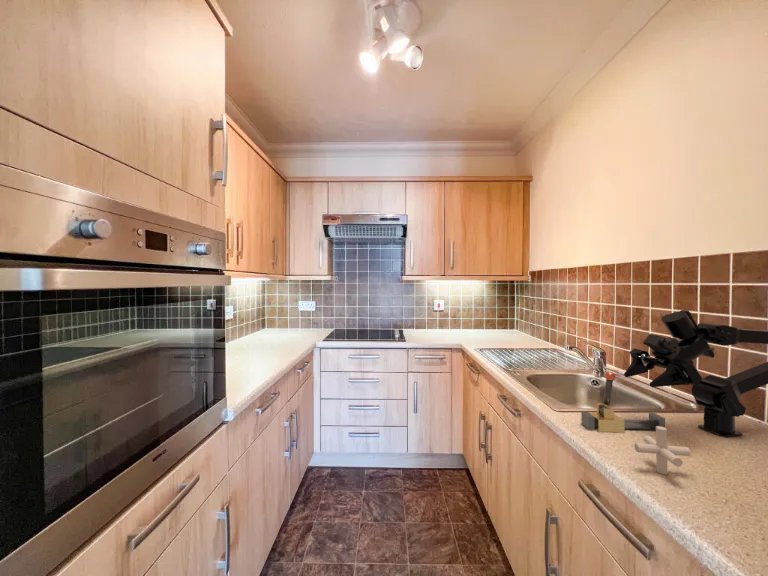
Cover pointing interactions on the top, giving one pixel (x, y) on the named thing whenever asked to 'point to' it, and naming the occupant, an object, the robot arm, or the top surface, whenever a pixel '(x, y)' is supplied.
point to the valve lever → (607, 390)
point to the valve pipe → (617, 421)
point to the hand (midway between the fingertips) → (637, 380)
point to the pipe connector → (662, 450)
